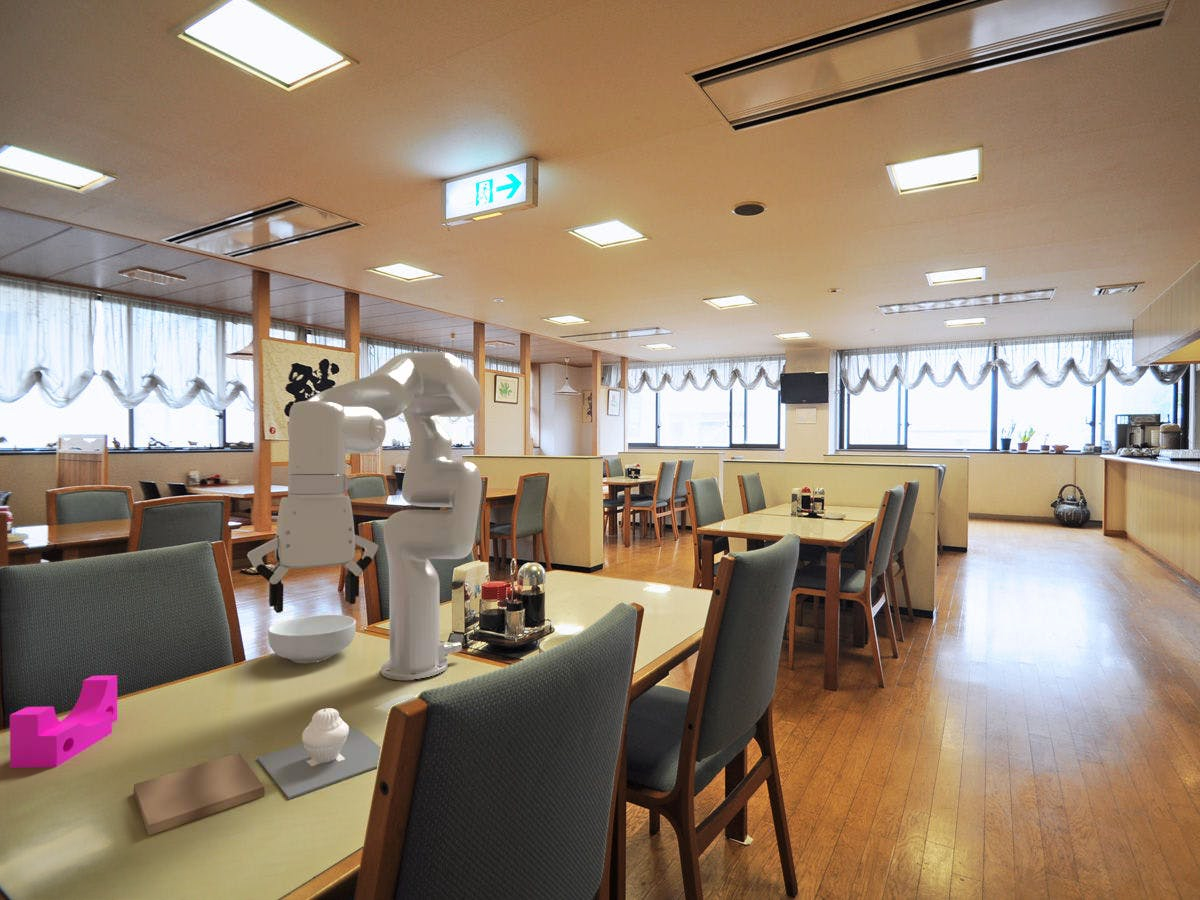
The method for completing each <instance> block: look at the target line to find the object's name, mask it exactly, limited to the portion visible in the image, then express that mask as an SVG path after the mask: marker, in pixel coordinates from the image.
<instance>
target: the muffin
mask: <svg viewBox="0 0 1200 900" xmlns="http://www.w3.org/2000/svg"><path fill="white" fill-rule="evenodd" d="M349 729H350V727H349V725H348V724H347V723H346V722H345V721H344V720H343V719H342V718H341V716H340V712H339V711H338V710H337V709H335V708H330V707H329V708H327V707H326V708H321V709H318V710H317V711H316V712H314V713H313V715H312V717H311V721H310V722H309V724H308V726H307V727H305V728H304V730H303V731H302V735H301V741H302V743H304V747H305V749H306V750H307V752H308V753H309V755H310V756H311V758H312V760H313V761H314V762H315V763H328V762H330V761H333V760H335V759H336V758H337V757H338V755H339V753H340V751H341V749H342V747H343V745H344V743H345V741H346V738H347V735H348V733H349Z"/></svg>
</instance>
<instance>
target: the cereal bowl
mask: <svg viewBox="0 0 1200 900" xmlns="http://www.w3.org/2000/svg"><path fill="white" fill-rule="evenodd" d="M356 627H357V622H356V619H355V618H354V617H352V616H348V615H343V614H320V615H319V614H318V615H309V616H302V617H295V618H291V619H287V620H284V621H279V622H277V623H275V624H272V625H271V626H269V628H268V631H267V639H268V643H269V647H270V648H271V650H272V652H273V653H275V654H276V655H277V656H279V657H281V658H284V659H288V660H291V661H292V662H293V661H294V662H293V663H296V664H312V663H311V662H315V663H318V662H317V661H320V662H322V661H321V660H324V659H327V658H329V659H331V658H332V657H333V656H334V655H335V654H338V653H339V652H341V651H344V650H345V649H346V648H347V647H349V646H350V644H351V643H352V642H353V640H354V638H355V634H356V630H357V628H356ZM331 656H332V657H331ZM330 657H331V658H330ZM327 660H328V659H327ZM324 661H325V660H324Z"/></svg>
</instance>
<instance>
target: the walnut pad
mask: <svg viewBox="0 0 1200 900" xmlns="http://www.w3.org/2000/svg"><path fill="white" fill-rule="evenodd" d="M133 795H134V799H135V801H136V803H137V806H138V807H137V808H138V809H139V812H140V815H141V818H142V821H143V824H144V827H145V829H146V832H147V835H148V836H152V835H155V834H158V833H162V832H163V831H166V830H169V829H172V828H176V827H178V826H181V825H184V824H187V823H191V822H193V821H195V820H198V819H199V820H200V819H202V818H205V817H207V816H210V815H213V814H216V813H219V812H222V811H224V810H228V809H230V808H234V807H236V806H239V805H242V804H245V803H247V802H250V801H254V800H256V799H259V798H262V797H265V785H264V784H263V783H262V782H261V780H260V779H259V778H258V776H257V775H256V773H255V772H254V771H253V769H252V767H250V765H249V764H248V763H247V761H246V760H245V759H244V757H243V756H242V754H241V753H240V752H238V753H234V754H231V755H228V756H227V755H226V756H225V757H222V758H217V759H214V760H211V761H207V762H204V763H201V764H197V765H193V766H190V767H188V768H187V767H186V768H184V769H180V770H177V771H174V772H170V773H167V774H164V775H161V776H156V777H153V778H150V779H147V780H143V781H140V782H136V783H134V784H133Z"/></svg>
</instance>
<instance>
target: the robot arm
mask: <svg viewBox="0 0 1200 900" xmlns="http://www.w3.org/2000/svg"><path fill="white" fill-rule="evenodd" d="M479 384H480V383H478V380H477V379H476V377H475V376H474V375H473V374H472V373H471V372H470V370H469V369H468V368H467V367H466V365H465V364H464V363H463V362H462V361H461V360H460V359H459V358H458V357H456V355H453V354H452V353H450V352H447V351H431V352H430V351H428V352H427V351H426V352H404V353H400V354H397V355H395V356H394V357H392V358H391V359H389V360H388V361H386V362H385V363H384V364H383V365H381V366H380V367H378V369H376V370H375V371H374V372H373V373H371V374H369V375H367V376H365V377H364V376H363V377H361V378H357V379H355V380H351V381H349V382H346V383H343V384H339V385H336V386H333V387H330V388H327V389H325V390H323V391H320V392H318V393H317V394H314V395H313V396H311V397H310V398H308V399H307V400H303V401H298V402H295V403H294V404H292V405H291V407H290V409H289V413H288V414H289V418H288V420H289V421H288V424H287V425H288V426H287V436H288V469H287V470H288V472H287V474H288V481H287V485H288V486H287V496H283V497H281V499H280V503H279V506H278V507H279V508H278V512H277V513H278V514H277V521H276V528H275V529H276V531H275V537H274V538H273V539H271V540H269V541H268V542H265V543H263V544H262V545H259V546H257V547H255V548H254V549H252V550H250V551H248V552H247V554H246V555H247V558H248V559H249V561H250V563H251V565H252V566H253V568H254V569H255V572H256V573H258V574H259V575H260V576H262V577H263V578H264V579H265V580H266V581H268V582H269V585H268V586H269V589H268V593H269V594H268V596H269V597H268V605H269V607H273V611H275V613H276V614H281V613H282V612H283V611H284V583H282V578H284V576H285V575H286V574H287V573H288V572H289V570H293V569H308V568H319V567H330V566H331V567H332V566H341V565H342V566H343V567H344V568H345V569H346V570H347V573H346V574H345V575H344V576H345V581H344V584H345V588H344V600H345V602H347V603H349V604H350V605H355V604H356V602H357V601H356V600H357V599H356V598H357V597H359V596H360V576H361V575H363V572H364V571H365V570H366V569H367V568H368V567H369V565H371V563H372V561H373V558H374V557H375V556H376V553H377V551H378V549H379V544H377V543H376V542H373V541H371V540H368V539H366V538H364V537H362V536H360V535H357V534H355V525H354V522H355V521H354V515H353V508H352V502H351V499H350V498H351V497H350V495H346V493H347V491H348V490H350V489H354V488H355V487H356V479H355V478H350V477H347V476H348V475H347V474H346V454H349V455H351V454H356V455H357V454H358V455H360V454H368V453H371V452H373V451H376V450H377V449H379V447H380V446H381V445H382V444H383V442H384V441H385V438H386V434H387V428H386V427H387V426H386V422H385V421H386V420H390V419H394V418H396V417H399V416H400V415H401V414H403V416H404V419H405V422H406V424H407V428H408V430H409V435H410V444H409V450H408V455H407V460H406V464H405V465H406V466H405V470H404V474H403V475H404V476H403V480H402V485H401V486H402V487H401V492H402V498H403V500H404V501H405V502H406V503H407V504H409V505H412V506H415V507H416V506H417V507H427V508H428V507H429V508H451V510H449V509H447V510H446V509H405V510H400V511H396V512H394V513H393V514H391V515H390V516H389V517H388V518H387V520H386V521H385V524H384V526H383V541H384V547H385V551H386V558H387V561H388V562H387V563H388V573H389V575H388V578H389V580H388V582H389V590H388V591H389V605H388V606H389V608H388V609H389V660H386V662H384V663H383V664H382V665H381V675H382V676H383V677H385V678H387V679H389V680H393V681H394V680H395V681H415V680H414V679H419V680H421V679H420V678H424V677H428V676H432V675H436V674H438V675H440V674H442V673H444V672H445V671H446V670H447V669H448V665H449V664H448V663H449V661H448V659H447V656H449V654H454V653H458V652H461V651H462V650H463V645H462V643H461V642H460V641H456V642H453V643H450V642H449V641H444V642H442V641H441V639H440V637H441V636H440V631H441V630H440V628H441V627H440V625H441V624H440V622H441V621H440V619H441V618H440V617H441V615H440V608H441V607H440V579H439V574H438V573H437V570H436V569H435V567H434V565H433V564H432V562H431V559H433V560H434V559H435V560H461V559H464V558H466V557H468V556H469V555H470V553H471V552H472V550H473V547H474V544H475V539H476V532H477V526H478V525H477V524H478V519H479V512H480V505H481V499H482V489H483V488H482V486H483V485H482V483H483V482H482V474H481V472H480V468H479V467H478V466H477V465H476V464H475V463H474V462H471V461H468V460H451V454H452V450H453V443H452V439H451V436H450V435H449V433H448V432H447V430H446V429H445V428H444V427H443V425H441V424H440V423H439V421H438V420H437V419H436V418H448V417H449V418H451V417H452V418H453V417H454V418H456V417H457V418H461V417H462V418H463V417H464V418H465V417H471V416H473V415H475V414H476V413H477V412H478V411H479V409H480V408H481V403H482V390H481V388H480V387H481V386H480V385H479ZM356 545H357V546H359V547H361V548H364V552H363V555H362V556H361V557H360V558H359V559H358V560H357V561H355V560H354V559H355V555H356V554H355V553H356ZM271 552H274V558H275V562H276V565H275V566H274V567H273V568H272V569H270V568H269V567H267V566H266V564H265V563H264V561H263V557H264V556H266V555H268V554H270V553H271ZM443 671H444V672H443ZM441 672H442V673H441ZM439 673H440V674H439ZM436 676H437V675H436ZM432 677H433V676H432Z"/></svg>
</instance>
